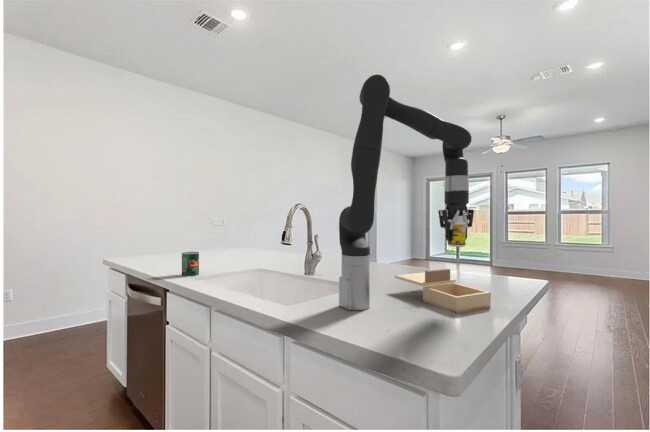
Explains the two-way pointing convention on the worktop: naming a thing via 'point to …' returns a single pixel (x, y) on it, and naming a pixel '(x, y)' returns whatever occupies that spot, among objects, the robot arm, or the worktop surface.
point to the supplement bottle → (458, 233)
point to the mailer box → (457, 297)
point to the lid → (428, 277)
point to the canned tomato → (190, 263)
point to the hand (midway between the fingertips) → (456, 240)
